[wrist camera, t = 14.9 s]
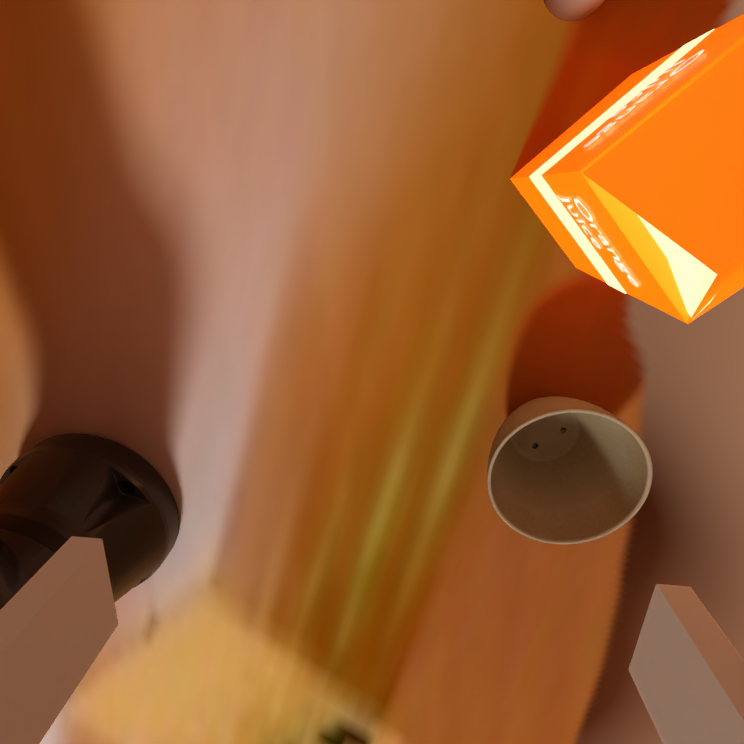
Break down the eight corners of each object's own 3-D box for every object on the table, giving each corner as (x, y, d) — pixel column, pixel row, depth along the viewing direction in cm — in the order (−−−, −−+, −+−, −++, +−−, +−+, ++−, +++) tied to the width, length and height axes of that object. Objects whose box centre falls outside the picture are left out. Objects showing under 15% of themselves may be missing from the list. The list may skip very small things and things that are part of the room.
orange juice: (507, 177, 31) (638, 161, 13) (631, 70, 29) (1031, -151, 10) (576, 270, 33) (783, 378, 14) (700, 177, 30) (1153, 160, 12)
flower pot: (547, 341, 35) (577, 377, 28) (638, 427, 36) (687, 481, 30) (449, 430, 38) (455, 482, 31) (537, 506, 40) (560, 570, 33)
